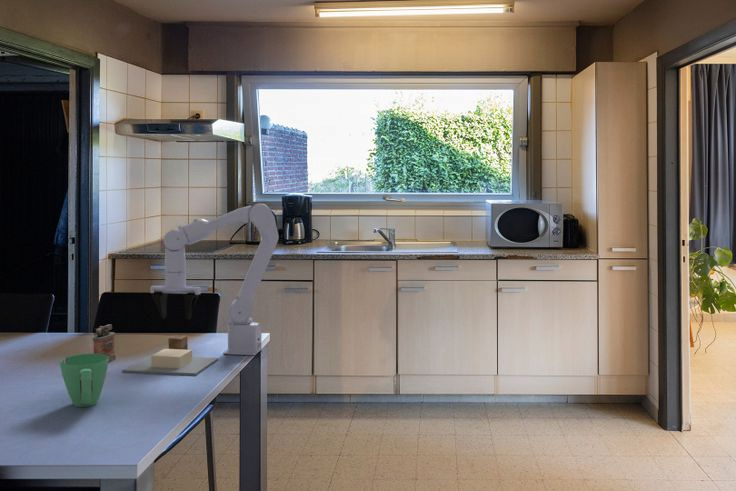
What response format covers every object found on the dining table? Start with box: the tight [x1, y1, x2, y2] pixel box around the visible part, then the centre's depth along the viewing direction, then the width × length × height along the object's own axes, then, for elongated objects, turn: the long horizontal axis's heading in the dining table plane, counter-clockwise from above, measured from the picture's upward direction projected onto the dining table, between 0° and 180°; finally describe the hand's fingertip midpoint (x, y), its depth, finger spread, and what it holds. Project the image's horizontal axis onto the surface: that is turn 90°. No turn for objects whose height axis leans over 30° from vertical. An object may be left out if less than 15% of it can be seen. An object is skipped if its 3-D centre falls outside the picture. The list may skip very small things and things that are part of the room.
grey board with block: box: [121, 348, 219, 377], centre depth 178 cm, size 20×16×4 cm
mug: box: [59, 353, 109, 408], centre depth 144 cm, size 15×10×10 cm
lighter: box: [92, 323, 116, 364], centre depth 182 cm, size 8×3×10 cm, turn 168°
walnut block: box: [167, 334, 189, 350], centre depth 192 cm, size 4×4×5 cm
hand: (176, 318), depth 191 cm, fingers open, 7 cm apart
